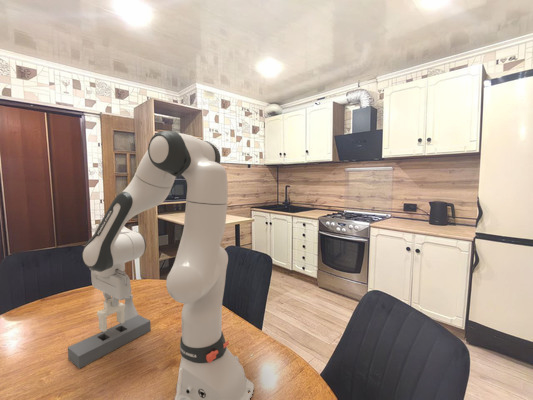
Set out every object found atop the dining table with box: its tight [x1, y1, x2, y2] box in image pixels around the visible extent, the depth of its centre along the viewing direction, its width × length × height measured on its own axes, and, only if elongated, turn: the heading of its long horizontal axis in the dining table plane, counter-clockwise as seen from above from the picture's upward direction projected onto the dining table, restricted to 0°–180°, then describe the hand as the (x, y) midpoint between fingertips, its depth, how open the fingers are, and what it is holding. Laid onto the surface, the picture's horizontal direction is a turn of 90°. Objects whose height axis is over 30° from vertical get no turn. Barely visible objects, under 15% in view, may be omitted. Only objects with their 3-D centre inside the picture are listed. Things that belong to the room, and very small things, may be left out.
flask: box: [124, 294, 140, 321], centre depth 106 cm, size 7×7×10 cm
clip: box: [96, 297, 125, 332], centre depth 89 cm, size 3×8×10 cm, turn 148°
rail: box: [67, 314, 152, 369], centre depth 90 cm, size 8×24×4 cm, turn 148°
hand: (111, 304), depth 89 cm, fingers closed on clip, 2 cm apart
